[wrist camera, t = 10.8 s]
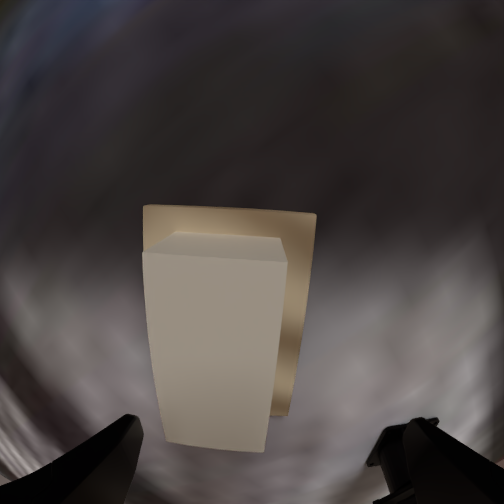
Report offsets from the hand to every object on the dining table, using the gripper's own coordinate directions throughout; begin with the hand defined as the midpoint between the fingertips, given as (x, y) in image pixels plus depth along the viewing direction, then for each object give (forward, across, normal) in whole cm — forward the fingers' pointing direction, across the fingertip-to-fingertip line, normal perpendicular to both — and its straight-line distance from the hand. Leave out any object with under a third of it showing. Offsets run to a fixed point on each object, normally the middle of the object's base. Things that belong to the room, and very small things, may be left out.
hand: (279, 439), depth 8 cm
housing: (+10, +3, +2) cm, 11 cm away
